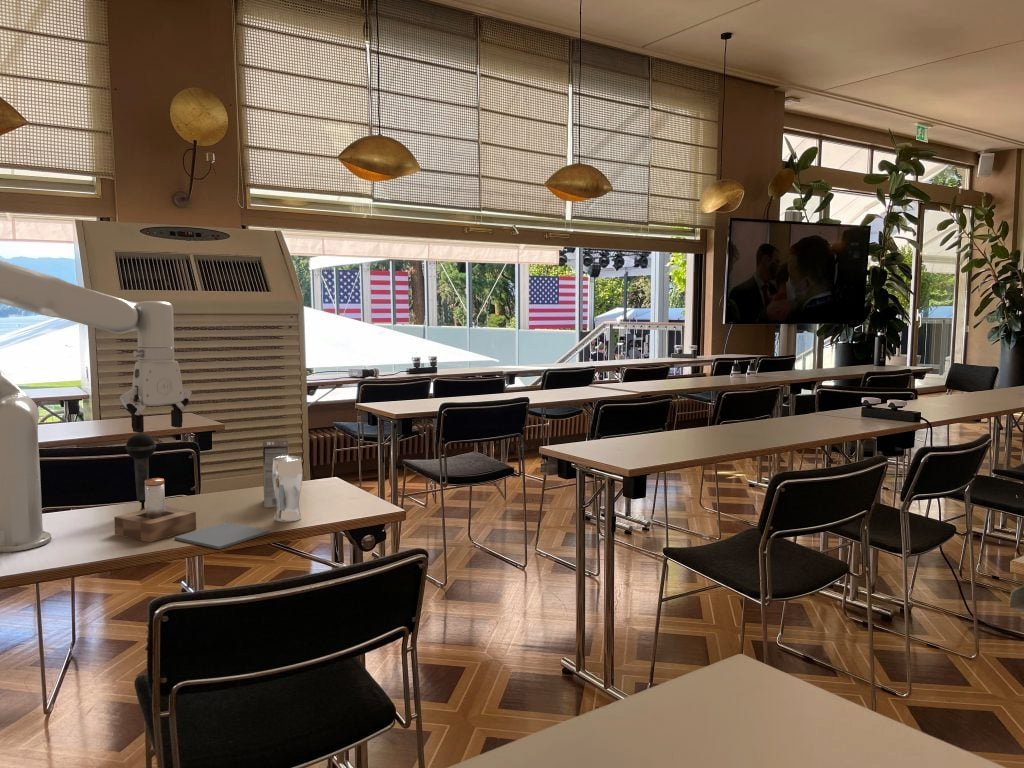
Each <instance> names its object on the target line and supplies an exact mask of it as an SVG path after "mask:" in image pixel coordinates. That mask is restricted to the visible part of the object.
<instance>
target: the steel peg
mask: <svg viewBox="0 0 1024 768" xmlns="http://www.w3.org/2000/svg"><path fill="white" fill-rule="evenodd" d="M144 505H145V509H146V518H149V519H155V518H159V517H163V516H165V506H166V497H165V479H164V478H163V477H162V478H161V477H156V478H155V477H153V478H148V479H147V480H145V502H144Z"/></svg>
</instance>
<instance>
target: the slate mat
mask: <svg viewBox="0 0 1024 768" xmlns="http://www.w3.org/2000/svg"><path fill="white" fill-rule="evenodd" d="M267 534H270V529H264V528H263V529H262V528H259V527H253V526H249V525H243V524H238V523H232V522H228V521H225V522H222V523H218V524H214V525H211V526H207V527H204V528H201V529H198V530H193V531H189V532H187V533H183V534H179V535H178V536H177V535H175V536H174V540H176V541H180V542H185V543H189V544H193V545H199V546H202V547H207V548H212V549H216V550H222V549H225V548H228V547H231V546H234V545H237V544H240V543H243V542H247V541H249V540H252V539H255V538H258V537H261V536H264V535H267Z"/></svg>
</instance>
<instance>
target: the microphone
mask: <svg viewBox="0 0 1024 768" xmlns="http://www.w3.org/2000/svg"><path fill="white" fill-rule="evenodd" d="M124 448H125V451H126V452H127V454H128V456H129V457H130V458H132V459H133V462H134V463H133V464H134V475H135V476H134V477H135V491H136V500H137V501H138V503H140V504H141V505H140V507H141V508H140V510H144V509H146V505H145V480H147V479H149V471H150V470H149V467H150V465H149V463H150V462H149V461H150V460H149V459H150V457H151V456H152V455H153V454H154V453H155V451H156V448H157V444H156V442H155V440H154V438H153V437H152V436H150V435H149V434H147V433H143V432H142V433H136V434H134V435H132V436H131V437H129V439H128V440H127V442H126V445H125V447H124ZM140 510H139V511H140Z"/></svg>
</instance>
